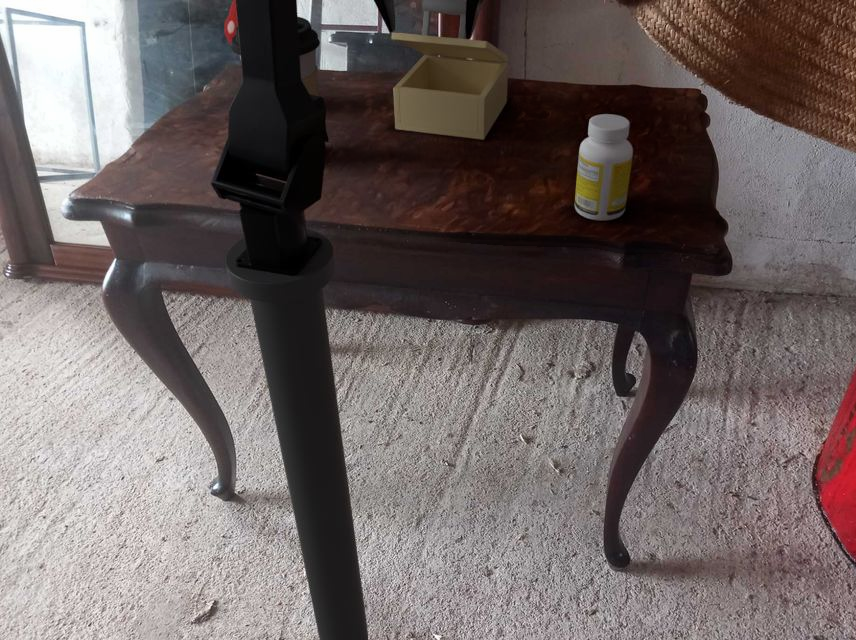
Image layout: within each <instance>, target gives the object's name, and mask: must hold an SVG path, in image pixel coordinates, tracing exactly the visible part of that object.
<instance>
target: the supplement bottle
mask: <svg viewBox="0 0 856 640" xmlns="http://www.w3.org/2000/svg"><path fill="white" fill-rule="evenodd" d="M630 126H631V125H630V120H629V119H627V117H624V116H622V115H619V114H610V113H603V114H597V115H593V116H591V118H590V119H589V121H588V128H587V137H585V138H584V139H583V140H582V141H581V143H580V146H579V149H578V150H579V151H578V160H577V161H578V162H577V169H576V170H577V172H576V181H575V194H574V209H575V212H576V213H578V214H579V215H580V216H582V217H583V218H586V219H589V220H592V221H612V220H615V219H618V218H620V217H621V216H623V214H624V213H625V211H626V206H627V202H628V201H627V199H628V191H629V186H630V185H629V184H630V177H631V170H632V163H633V156H634V155H633V154H634V148H633V145H632V144H631V143H630V141H629V140H628V138H629V134H630Z"/></svg>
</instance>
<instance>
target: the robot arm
mask: <svg viewBox="0 0 856 640" xmlns="http://www.w3.org/2000/svg"><path fill="white" fill-rule="evenodd" d="M235 2H236V12H237V23H238V33H239V44H240V54H241V59H240V64H241V75H242V78H241V83H240V84H239V87H238V88H237V91H236V93H235V95H234V97H233V99H232V101H231V103H230V105H229V107H228V111H227V112H228V113H227V115H228V118H227V138H226V142H225V144H224V147H223V149H222V152H221V155H220V157H219V160H218V162H217V165H216V168H215V171H214V172H213V175H212V178H211V180H210V183H211V184H210V185H211V187H212V188H213V190H214V192H215V194H216V195H217V197H218V198H219V199H221V200H227V201H230V202H235V203H238V204H239V208H240V209H239V210H238V213H239V216H240V217H239V218H240V222H241V228H242V234H243V238H244V239H245V244H246V249H245V250H244V251H243V253H242V254H241V255H240V256H239V257H238V258H237V259H236V260H235V264H236V266H237V267H241V268H247V269H253V270H259V271H265V272H271V273H277V274H283V275H289V276H296V275H298V274H299V272H300V271H301V270H302V269H303V267H304V266H305V265H306V264H307V262H308V261H309V260H310V259H311V257H312V256H313V255H314V254H315V252H316V251H317V250H318V249H319V247H320V246H321V245H322V239H321V238H317V237H310V236H307V229H308V228H307V221H306V215H305V211H306V210H308V209H309V208H310V207H312V206H313V205H314V204H316V203H317V202H319V201H320V200H321V199H322V194H323V185H324V184H323V183H324V175H325V165H326V154H327V153H326V152H327V151H326V143H329V140H330V139H329V136H328V133H327V123H326V121H327V120H326V119H327V105H326V102H325V99H324V97H323V96H320V95H318V96H316V95H311V94H309V92H308V91H307V89H306V87H305V86H304V84H303V82H302V79H301V69H300V51H299V33H298V17H299V15H298V1H297V0H235ZM373 2H374V4H375V6H376V8H377V10H378V12H379V15H380V16H381V18H382V21H383V22H384V25H385V26H386V28H387V31H388V33H392V32H394V31H395V30H396V11H395V10H396V9H395V1H394V0H373ZM483 4H484V0H466V19H465V31H466V37H465V39H470V40H471V39H472V37H473V34H474V31H475V28H476V25H477V22H478V19H479V16H480V13H481V10H482V7H483Z"/></svg>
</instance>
